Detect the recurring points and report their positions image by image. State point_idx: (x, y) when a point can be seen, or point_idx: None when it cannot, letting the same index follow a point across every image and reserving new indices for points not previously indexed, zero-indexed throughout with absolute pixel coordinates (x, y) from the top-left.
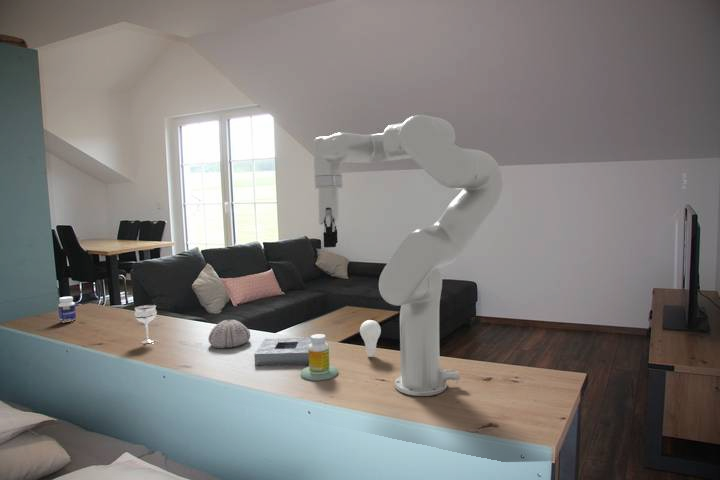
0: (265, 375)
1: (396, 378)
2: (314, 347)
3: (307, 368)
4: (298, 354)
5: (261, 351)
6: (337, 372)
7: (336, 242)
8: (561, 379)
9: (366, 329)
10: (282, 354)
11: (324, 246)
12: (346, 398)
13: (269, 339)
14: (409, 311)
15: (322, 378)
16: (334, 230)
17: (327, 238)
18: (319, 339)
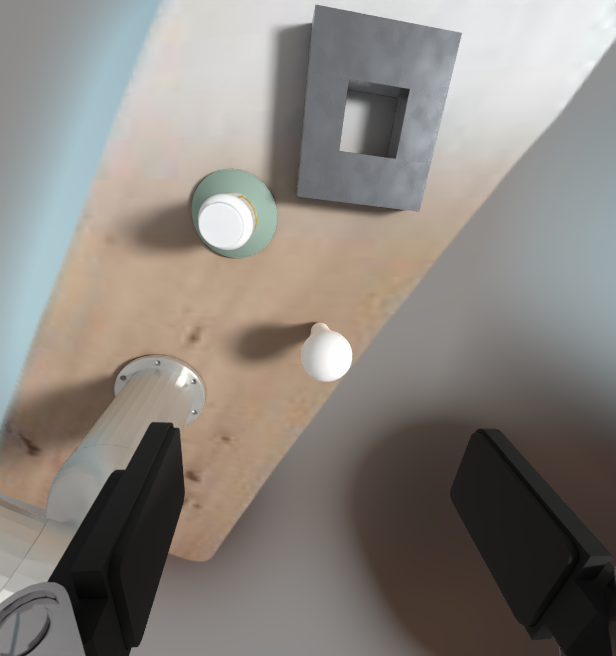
0: (235, 66)
1: (176, 362)
2: (201, 211)
3: (256, 186)
4: (300, 161)
5: (334, 31)
6: (228, 256)
7: (451, 496)
8: (187, 543)
9: (306, 350)
10: (305, 110)
11: (152, 426)
12: (103, 267)
13: (449, 53)
14: (58, 494)
15: (193, 222)
16: (527, 610)
17: (88, 525)
18: (200, 229)
